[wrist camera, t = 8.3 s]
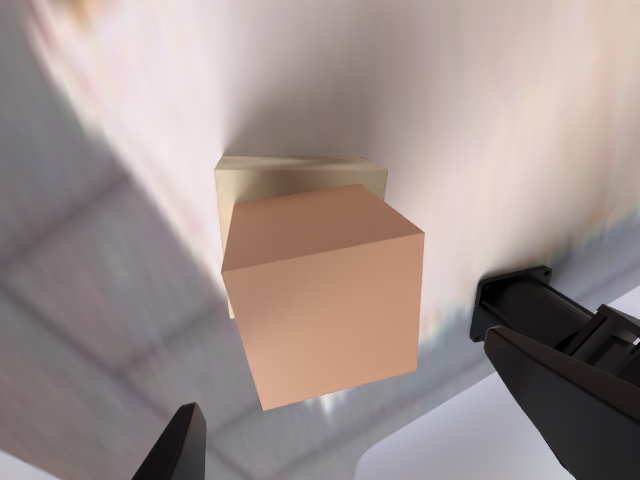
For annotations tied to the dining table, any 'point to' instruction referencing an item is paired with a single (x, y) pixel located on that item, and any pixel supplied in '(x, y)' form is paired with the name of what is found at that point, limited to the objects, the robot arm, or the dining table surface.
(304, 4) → the dining table surface
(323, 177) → the base block
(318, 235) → the terracotta cube
